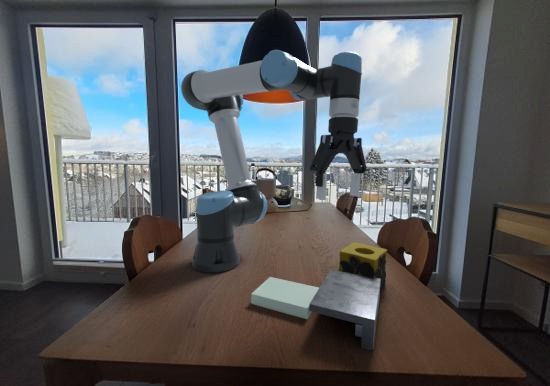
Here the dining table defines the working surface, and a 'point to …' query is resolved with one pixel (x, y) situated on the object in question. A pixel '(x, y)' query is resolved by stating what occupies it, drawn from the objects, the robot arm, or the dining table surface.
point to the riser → (350, 302)
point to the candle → (364, 261)
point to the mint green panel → (285, 297)
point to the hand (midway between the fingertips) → (338, 197)
